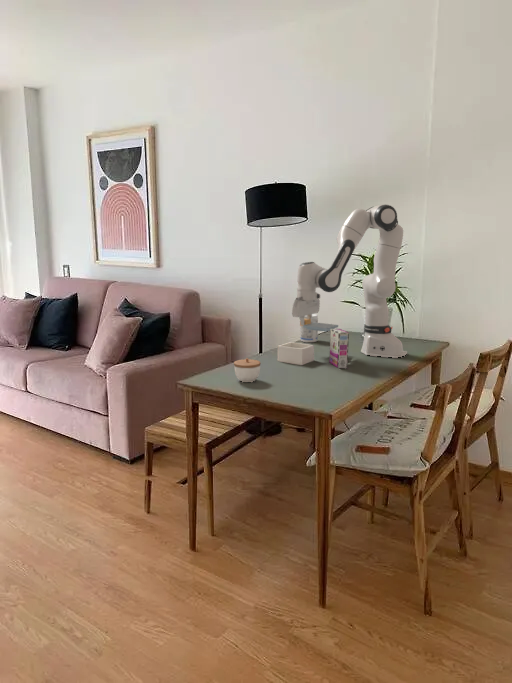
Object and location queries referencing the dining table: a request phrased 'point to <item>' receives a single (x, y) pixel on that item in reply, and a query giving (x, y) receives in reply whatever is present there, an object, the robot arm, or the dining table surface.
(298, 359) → the tub
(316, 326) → the lid
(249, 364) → the lidded jar
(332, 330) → the candy bar box
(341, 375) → the dining table surface
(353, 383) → the dining table surface
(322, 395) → the dining table surface
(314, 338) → the supplement tub
